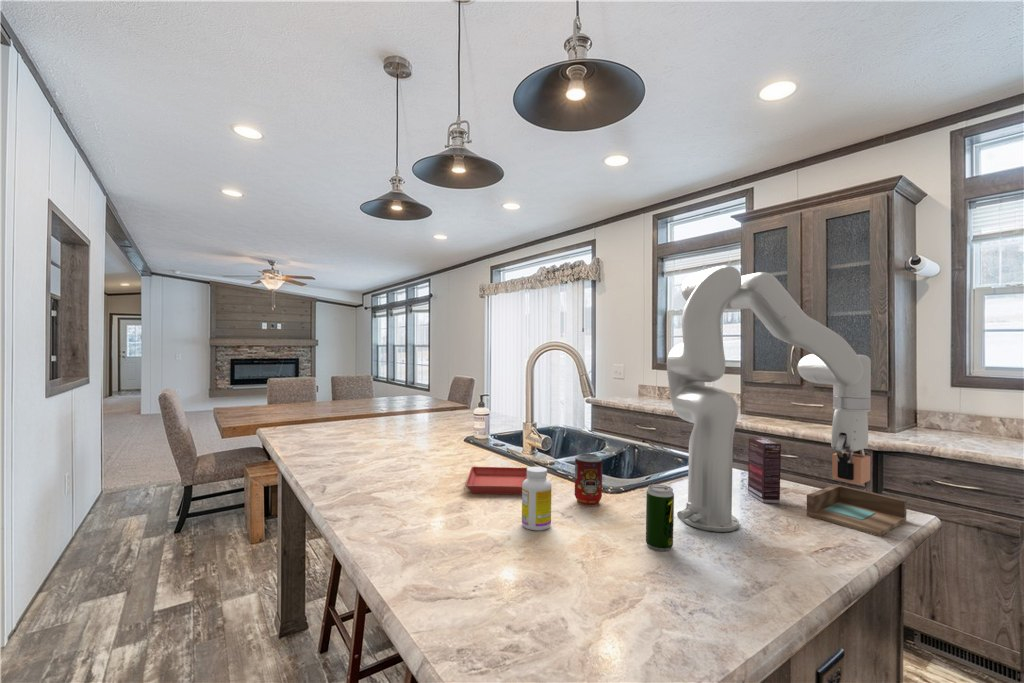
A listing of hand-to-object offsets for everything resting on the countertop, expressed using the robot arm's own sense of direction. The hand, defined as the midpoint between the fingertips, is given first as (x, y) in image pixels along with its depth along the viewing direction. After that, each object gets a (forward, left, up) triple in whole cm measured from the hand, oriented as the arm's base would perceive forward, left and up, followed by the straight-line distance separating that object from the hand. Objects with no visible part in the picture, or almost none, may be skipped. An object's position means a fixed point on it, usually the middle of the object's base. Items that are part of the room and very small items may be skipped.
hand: (851, 475), depth 115 cm
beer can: (-55, +15, -10) cm, 58 cm away
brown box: (0, 0, -1) cm, 1 cm away
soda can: (-49, +42, -10) cm, 65 cm away
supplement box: (-5, +19, -10) cm, 22 cm away
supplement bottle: (-70, +37, -10) cm, 80 cm away
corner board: (-1, -1, -10) cm, 10 cm away
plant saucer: (-61, +66, -10) cm, 90 cm away
